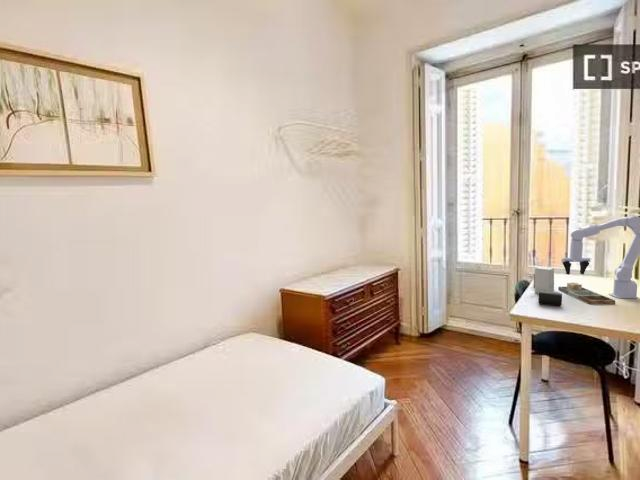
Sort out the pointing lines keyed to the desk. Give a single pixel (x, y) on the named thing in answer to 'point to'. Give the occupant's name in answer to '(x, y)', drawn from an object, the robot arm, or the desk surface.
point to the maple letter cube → (574, 286)
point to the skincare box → (544, 279)
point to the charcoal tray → (564, 289)
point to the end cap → (550, 298)
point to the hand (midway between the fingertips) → (574, 274)
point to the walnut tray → (597, 300)
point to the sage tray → (582, 293)
